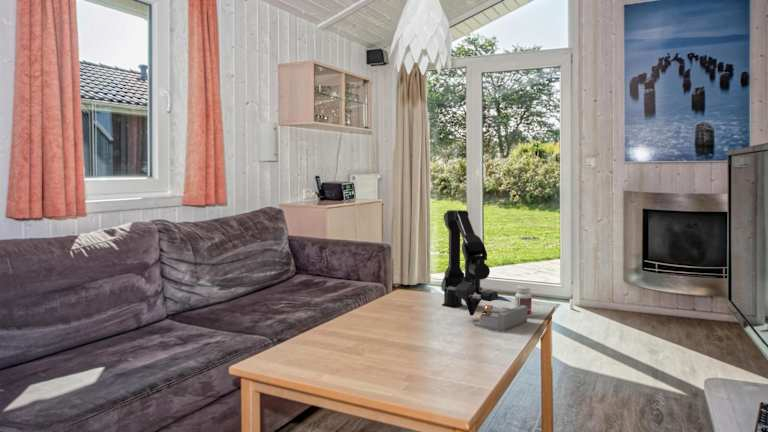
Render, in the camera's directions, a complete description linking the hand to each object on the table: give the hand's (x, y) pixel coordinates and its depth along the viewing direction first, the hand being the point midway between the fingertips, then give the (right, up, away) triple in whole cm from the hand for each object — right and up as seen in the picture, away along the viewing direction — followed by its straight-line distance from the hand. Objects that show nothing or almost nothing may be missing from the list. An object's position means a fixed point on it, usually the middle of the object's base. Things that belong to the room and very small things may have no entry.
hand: (471, 315), depth 208 cm
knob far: (+9, -1, +2) cm, 9 cm away
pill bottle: (+21, -2, +8) cm, 23 cm away
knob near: (+7, -1, -6) cm, 10 cm away
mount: (+10, -3, -4) cm, 11 cm away
